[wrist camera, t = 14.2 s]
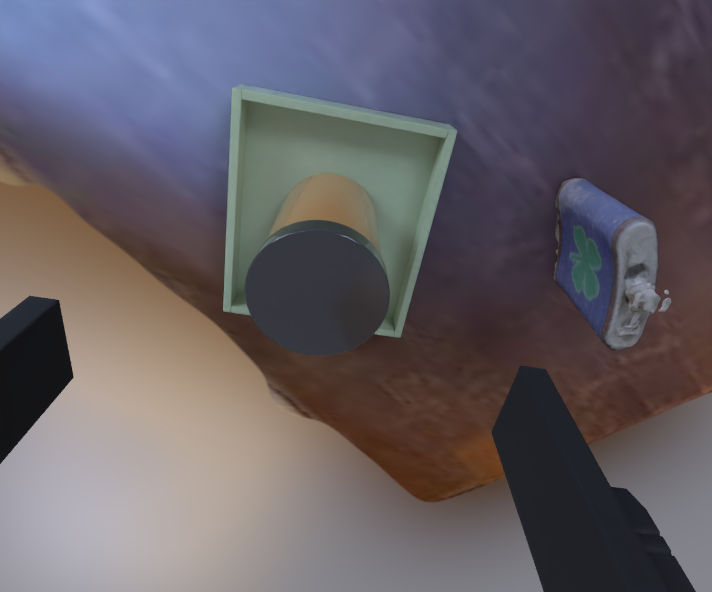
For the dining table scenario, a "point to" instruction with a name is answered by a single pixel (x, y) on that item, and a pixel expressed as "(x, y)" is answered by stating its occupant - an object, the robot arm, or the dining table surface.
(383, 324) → the serving tray
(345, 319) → the jar
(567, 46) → the dining table surface
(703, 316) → the dining table surface
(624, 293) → the flask
